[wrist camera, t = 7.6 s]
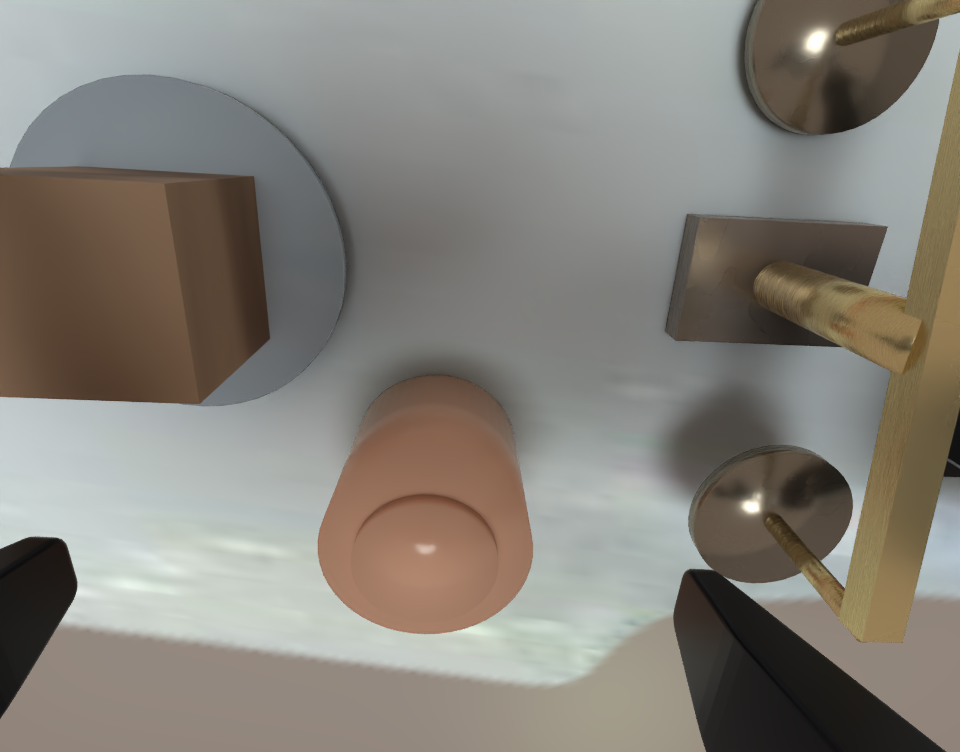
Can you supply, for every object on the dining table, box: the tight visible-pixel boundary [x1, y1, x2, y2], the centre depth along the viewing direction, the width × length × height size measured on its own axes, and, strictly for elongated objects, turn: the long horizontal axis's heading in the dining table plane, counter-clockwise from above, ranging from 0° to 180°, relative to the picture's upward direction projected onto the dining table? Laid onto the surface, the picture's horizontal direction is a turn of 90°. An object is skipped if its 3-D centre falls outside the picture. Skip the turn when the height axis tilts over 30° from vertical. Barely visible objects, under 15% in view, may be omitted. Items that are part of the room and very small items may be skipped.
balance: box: [665, 0, 960, 643], centre depth 14 cm, size 6×19×9 cm, turn 177°
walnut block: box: [0, 166, 270, 404], centre depth 14 cm, size 5×5×5 cm
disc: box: [10, 75, 346, 406], centre depth 17 cm, size 10×10×1 cm
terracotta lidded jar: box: [318, 375, 533, 634], centre depth 17 cm, size 6×6×6 cm
